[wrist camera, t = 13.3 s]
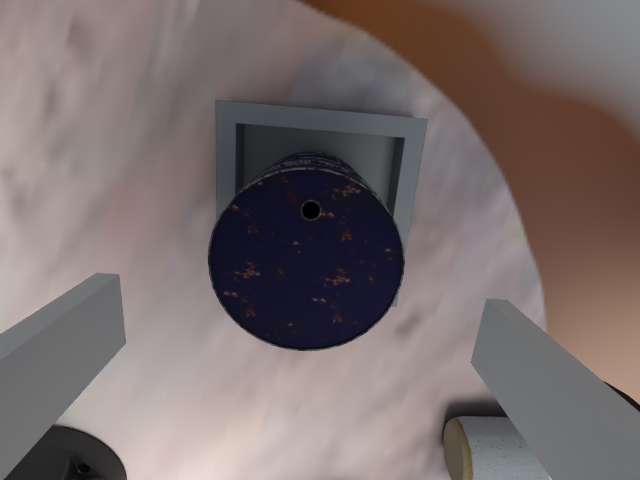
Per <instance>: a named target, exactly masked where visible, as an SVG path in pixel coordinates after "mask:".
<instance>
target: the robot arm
mask: <svg viewBox="0 0 640 480" xmlns="http://www.w3.org/2000/svg"><path fill="white" fill-rule="evenodd" d="M125 343H126V339H125V329H124V318H123V308H122V298H121V288H120V278H119V274H103V273H96V274H94V275H93V276H91V277H90V278H88V279H86V280H85V281H83V282H82V283H80V284H79V285H77V286H75V287H74V288H72V289H71V290H69V291H68V292H66V293H65V294H63V295H61V296H60V297H58V298H57V299H55V300H54V301H52V302H50V303H49V304H47V305H46V306H44V307H43V308H41V309H40V310H38V311H36V312H35V313H33V314H32V315H30V316H29V317H27V318H25V319H24V320H22V321H21V322H19V323H18V324H16V325H15V326H13V327H11V328H10V329H8V330H7V331H5V332H4V333H2V334H0V480H126V475H125V471H124V469H123V467H122V464H121V463H120V461H119V460H118V458H117V457H116V456H115V455H114V453H113V452H112V451H111V450H110V449H108V448H107V447H106V446H105V445H103V444H102V443H101V442H99V441H98V440H96V439H94V438H92V437H90V436H88V435H86V434H83V433H81V432H78V431H75V430H71V429H66V428H60V427H51V426H52V425H53V424H54V423H55V422H56V420H57V419H58V418H59V417H60V416H61V415H62V414H63V413H64V412H65V410H66V409H67V408H68V407H69V406H70V405H71V404H72V403H73V401H74V400H75V399H76V398H77V397H78V396H79V395H80V394H81V393H82V391H83V390H84V389H85V388H86V387H87V386H88V385H89V384H90V383H91V381H92V380H93V379H94V378H95V377H96V376H97V375H98V374H99V372H100V371H101V370H102V369H103V368H104V367H105V366H106V365H107V364H108V362H109V361H110V360H111V359H112V358H113V357H114V356H115V355H116V353H117V352H118V351H119V350H120V349H121V348H122V347H123V346H124V345H125ZM471 364H472V365H473V367H474V368H475V370H476V371H477V372H478V374H479V375H480V377H481V378H482V380H483V381H484V383H485V384H486V385H487V387H488V388H489V390H490V391H491V393H492V394H493V395H494V397H495V398H496V400H497V401H498V403H499V404H500V405H501V407H502V408H503V410H504V411H505V413H506V414H507V415H508V417H509V418H510V420H511V421H512V423H513V424H514V426H515V427H516V428H517V430H518V431H519V433H520V434H521V436H522V437H523V438H524V440H525V441H526V443H527V444H528V446H529V447H530V448H531V450H532V451H533V453H534V454H535V456H536V457H537V459H538V460H539V461H540V463H541V464H542V466H543V467H544V469H545V470H546V471H547V473H548V474H549V476H550V477H551V478H552V480H640V405H639V404H638V403H637V402H635V401H634V400H633V399H632V398H631V397H629V396H628V395H626V394H625V393H623V392H621V391H620V390H618V389H616V388H615V387H613V386H611V385H610V384H608V383H606V382H604V381H602V380H601V379H600V378H598V377H597V376H596V375H595V374H594V373H593V372H591V371H590V370H589V369H588V368H587V367H586V366H584V365H583V364H582V363H581V362H580V361H578V360H577V359H576V358H575V357H574V356H573V355H571V354H570V353H569V352H568V351H567V350H565V349H564V348H563V347H562V346H561V345H560V344H558V343H557V342H556V341H555V340H554V339H552V338H551V337H550V336H549V335H548V334H547V333H545V332H544V331H543V330H542V329H541V328H539V327H538V326H537V325H536V324H535V323H534V322H532V321H531V320H530V319H529V318H528V317H526V316H525V315H524V314H523V313H522V312H521V311H519V310H518V309H517V308H516V307H515V306H513V305H512V304H511V303H510V302H509V301H508V300H499V299H486V303H485V307H484V311H483V315H482V319H481V323H480V327H479V331H478V335H477V339H476V343H475V347H474V351H473V355H472V359H471Z"/></svg>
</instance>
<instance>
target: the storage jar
mask: <svg viewBox="0 0 640 480" xmlns="http://www.w3.org/2000/svg"><path fill="white" fill-rule="evenodd" d="M404 264H405V257H404V245H403V242H402V238H401V234H400V231H399V228H398V226H397V224H396V222H395V219H394V217H393V216H392V214H391V213H390V211H389V210H388V208H387V207H386V205H385V204H384V203H383V202H382V200H381V199H380V197H379V196H378V194H377V193H376V192H375V191H374V190H373V189H372V188H371V186H370V185H369V184H368V183H367V182H366V181H365V180H364V179H363V178H362V177H361V176H360V175H358V174H357V172H356V171H355V170H354V169H353V168H352V167H351V166H350V165H348V164H347V163H346V162H344V161H343V160H341V159H340V158H338V157H336V156H334V155H331V154H328V153H325V152H320V151H301V152H296V153H293V154H290V155H287V156H285V157H283V158H281V159H279V160H278V161H276V162H275V163H274V164H272V165H271V166H270V167H268V168H267V169H265V170H263V171H262V172H261V173H259V174H258V175H257V176H256V177H254V178H253V179H252V180H251V181H249V182H248V183H247V184H246V185H245V186H244V187H243V188H242V189H241V190H240V191H239V192H238V193H237V194H236V195H235V196H234V197H233V199H232V200H231V201H230V202H229V203H228V204H227V205H226V207H225V208H224V210H223V211H222V213H221V214H220V216H219V217H218V219H217V222H216V224H215V226H214V228H213V231H212V235H211V239H210V243H209V250H208V267H209V275H210V279H211V282H212V286H213V289H214V291H215V294H216V296H217V298H218V300H219V302H220V303H221V305H222V306H223V308H224V309H225V311H226V312H227V314H228V315H229V316H230V317H231V318H232V319H233V320H234V321H235V322H236V324H238V325H239V326H240V327H241V328H243V329H244V330H245V331H246V332H248V333H249V334H251V335H253V336H254V337H256V338H257V339H259V340H261V341H264V342H266V343H268V344H271V345H273V346H277V347H281V348H284V349H290V350H297V351H317V350H324V349H330V348H333V347H337V346H341V345H343V344H346V343H348V342H350V341H353V340H355V339H357V338H358V337H360V336H361V335H363V334H365V333H366V332H368V331H369V330H370V329H371V328H372V327H374V326H375V325H376V324H377V323H378V322H379V321H380V320H381V319H382V318H383V317H384V315H385V314H386V313H387V312H388V310H389V309H390V307H391V306H392V304H393V302H394V301H395V299H396V296H397V294H398V292H399V289H400V286H401V283H402V279H403V275H404Z"/></svg>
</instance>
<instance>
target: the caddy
mask: <svg viewBox="0 0 640 480" xmlns="http://www.w3.org/2000/svg"><path fill="white" fill-rule="evenodd" d="M427 122H428V119H424V118H413V117H402V116H391V115H380V114H368V113H357V112H346V111H335V110H323V109H312V108H301V107H290V106H278V105H267V104H256V103H245V102H234V101H222V100H216V197H217V219H218V217H219V216H220V214H221V213H222V211H223V210H224V208H225V207H226V205H227V204H228V203H229V202H230V201H231V200H232V199H233V197H234V196H235V195H236V194H237V193H238V192H239V191H240V190H241V189H242V188H243V187H244V186H245V185H246V184H247V183H248V182H249V181H251V180H252V179H253V178H254V177H256V176H257V175H258V174H259V173H261V172H262V171H263V170H265V169H267V168H268V167H270V166H271V165H272V164H274V163H275V162H276V161H278V160H279V159H281V158H283V157H285V156H287V155H290V154H293V153H296V152H301V151H320V152H325V153H328V154H331V155H334V156H336V157H338V158H340V159H341V160H343V161H344V162H346V163H347V164H348V165H350V166H351V167H352V168H353V169H354V170H355V171H356V172H357V174H358V175H360V176H361V177H362V178H363V179H364V180H365V181H366V182H367V183H368V184H369V185H370V186H371V188H372V189H373V190H374V191H375V192H376V193H377V194H378V196H379V197H380V199H381V200H382V202H383V203H384V204H385V205H386V207H387V208H388V210H389V211H390V213H391V214H392V216H393V217H394V219H395V222H396V224H397V226H398V228H399V231H400V234H401V238H402V242H403V245H404V257H405V252H406V246H407V240H408V235H409V229H410V223H411V217H412V211H413V205H414V199H415V193H416V187H417V181H418V175H419V169H420V163H421V158H422V152H423V146H424V140H425V134H426V128H427ZM398 294H399V292H398ZM398 294H397V296H396V299H395V301H394V302H393V304H392V306H393V307H396V306H397V300H398Z"/></svg>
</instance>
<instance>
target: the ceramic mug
mask: <svg viewBox="0 0 640 480" xmlns="http://www.w3.org/2000/svg"><path fill="white" fill-rule="evenodd" d="M443 442H444V454H445V460H446V465H447V469H448V472H449V475H450V477H451V480H549V477H548V476H549V474H548V473H547V471H546V470H545V469H544V467H543V466H542V464H541V463H540V461H539V460H538V459H537V457H536V456H535V454H534V453H533V451H532V450H531V448H530V447H529V446H528V444H527V443H526V441H525V440H524V438H523V437H522V436H521V434H520V433H519V431H518V430H517V428H516V427H515V426H514V424H513V423H512V421H511V420H510V418H509V417H477V416H461V417H454V418H451V419H450V420H449V421H448V422H447V424H446V426H445V430H444V440H443Z"/></svg>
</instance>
